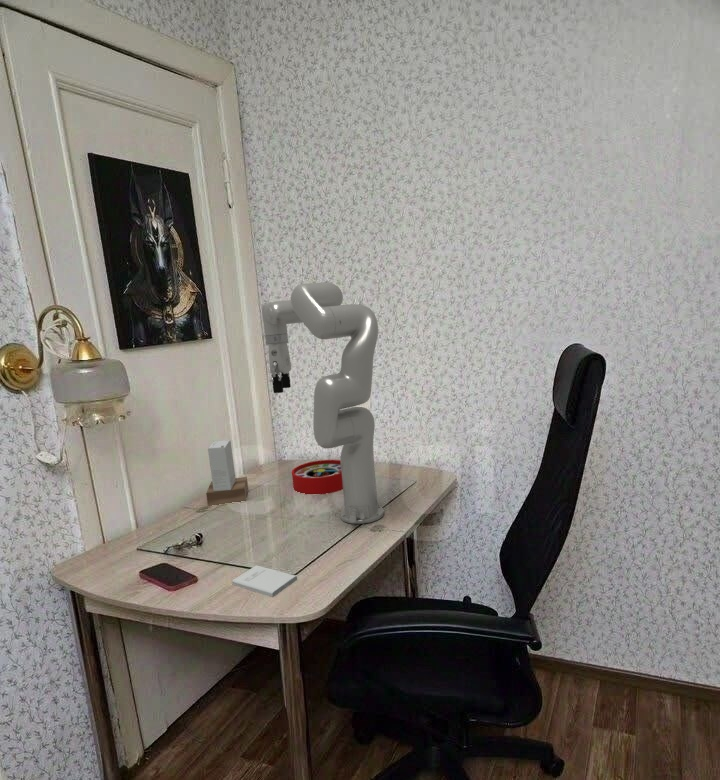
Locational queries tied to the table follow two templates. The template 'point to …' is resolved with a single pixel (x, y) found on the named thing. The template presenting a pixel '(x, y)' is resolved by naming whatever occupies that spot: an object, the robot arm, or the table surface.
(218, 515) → the table surface
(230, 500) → the walnut block
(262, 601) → the table surface
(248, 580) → the external hard drive
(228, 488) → the skincare box
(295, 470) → the toy clock
